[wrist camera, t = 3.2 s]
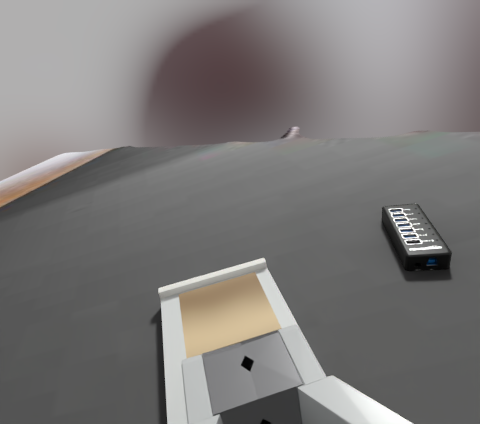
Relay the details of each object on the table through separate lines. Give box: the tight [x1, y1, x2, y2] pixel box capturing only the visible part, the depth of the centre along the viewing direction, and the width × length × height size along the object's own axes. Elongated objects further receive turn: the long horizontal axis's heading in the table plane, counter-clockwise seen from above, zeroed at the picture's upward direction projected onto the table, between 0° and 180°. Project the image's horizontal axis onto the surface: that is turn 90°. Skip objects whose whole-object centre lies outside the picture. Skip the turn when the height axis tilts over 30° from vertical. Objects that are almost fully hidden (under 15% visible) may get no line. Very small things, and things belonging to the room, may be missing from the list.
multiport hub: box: [382, 204, 452, 271], centre depth 40 cm, size 4×11×2 cm, turn 173°
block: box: [179, 272, 282, 358], centre depth 22 cm, size 5×5×10 cm
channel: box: [158, 258, 298, 424], centre depth 26 cm, size 28×12×2 cm, turn 14°
